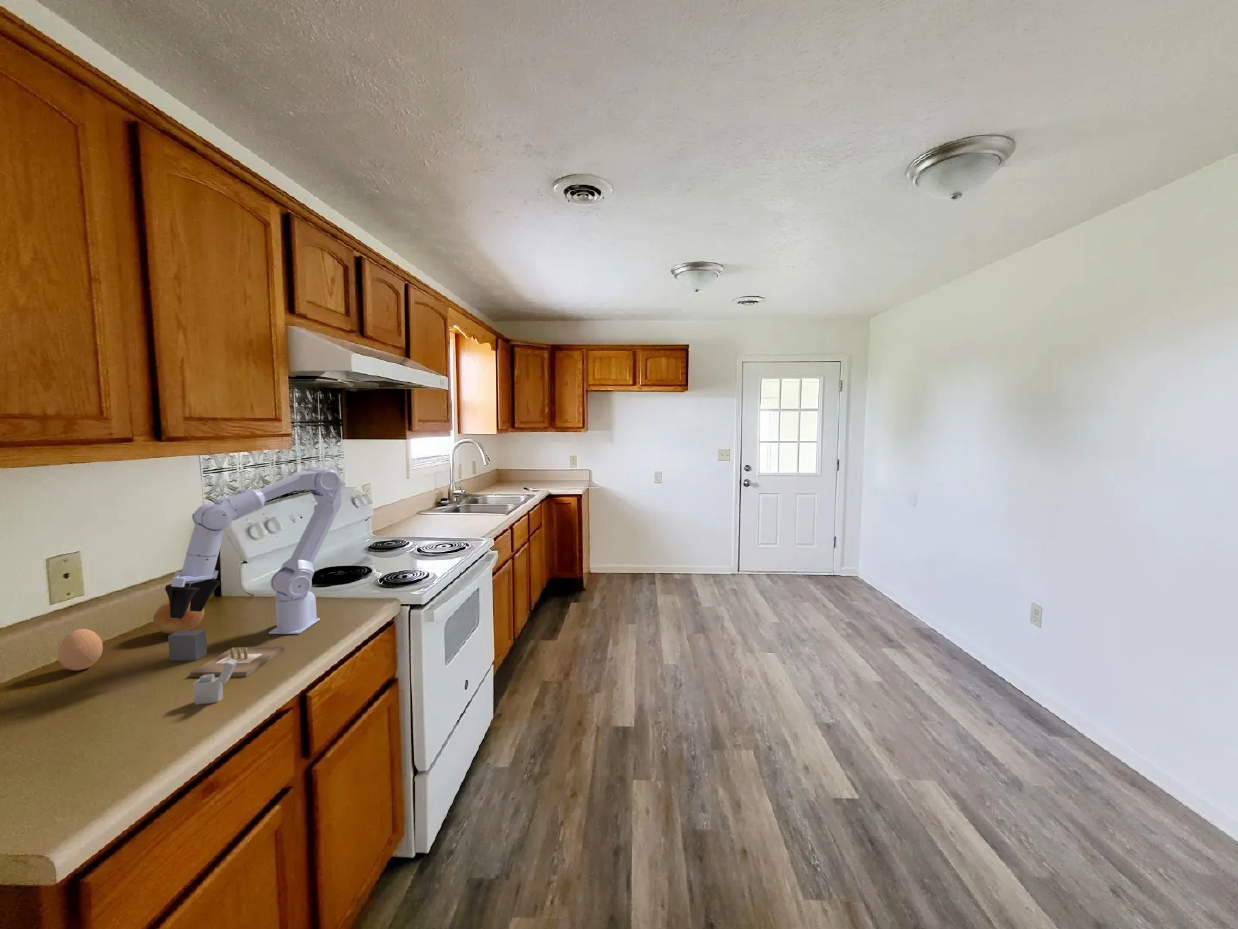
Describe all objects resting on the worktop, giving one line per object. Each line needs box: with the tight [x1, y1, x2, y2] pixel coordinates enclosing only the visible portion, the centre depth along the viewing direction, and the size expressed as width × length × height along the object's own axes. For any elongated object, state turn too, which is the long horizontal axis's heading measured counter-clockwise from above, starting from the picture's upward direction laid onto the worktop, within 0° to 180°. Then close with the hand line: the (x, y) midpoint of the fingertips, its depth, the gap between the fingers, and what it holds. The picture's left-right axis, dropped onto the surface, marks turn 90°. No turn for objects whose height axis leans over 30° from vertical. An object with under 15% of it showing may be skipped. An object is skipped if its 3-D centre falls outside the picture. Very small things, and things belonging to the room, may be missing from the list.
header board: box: [189, 646, 285, 678], centre depth 109 cm, size 12×12×4 cm
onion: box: [152, 598, 205, 635], centre depth 125 cm, size 10×10×10 cm
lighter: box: [192, 659, 238, 706], centre depth 94 cm, size 7×2×8 cm, turn 103°
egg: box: [57, 628, 104, 671], centre depth 106 cm, size 7×7×9 cm
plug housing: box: [167, 629, 208, 662], centre depth 112 cm, size 3×6×6 cm, turn 92°
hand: (186, 614), depth 109 cm, fingers open, 7 cm apart
